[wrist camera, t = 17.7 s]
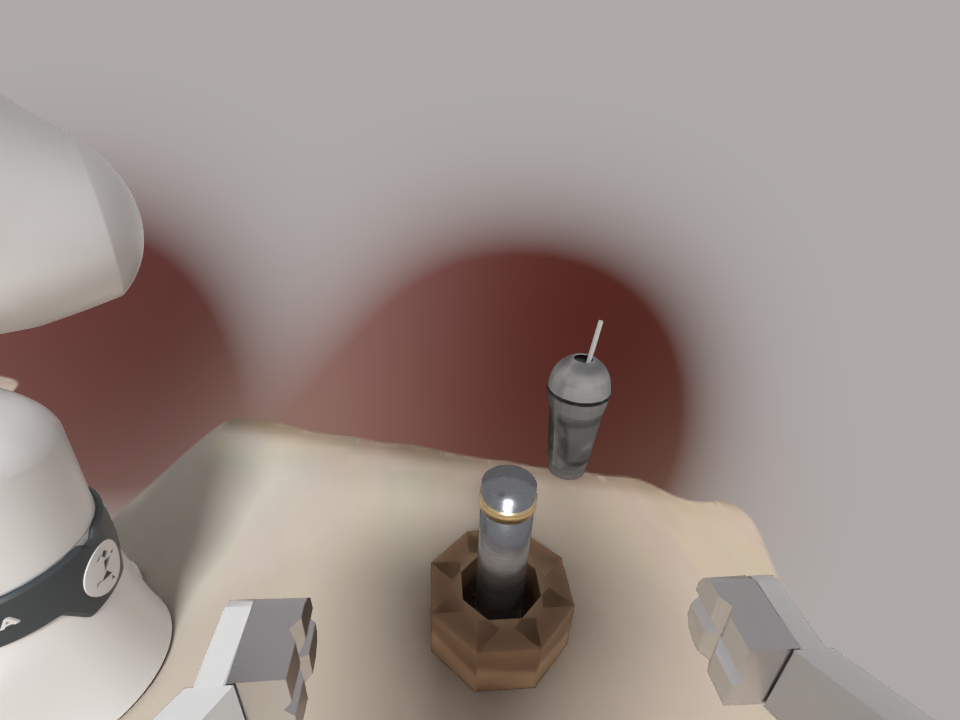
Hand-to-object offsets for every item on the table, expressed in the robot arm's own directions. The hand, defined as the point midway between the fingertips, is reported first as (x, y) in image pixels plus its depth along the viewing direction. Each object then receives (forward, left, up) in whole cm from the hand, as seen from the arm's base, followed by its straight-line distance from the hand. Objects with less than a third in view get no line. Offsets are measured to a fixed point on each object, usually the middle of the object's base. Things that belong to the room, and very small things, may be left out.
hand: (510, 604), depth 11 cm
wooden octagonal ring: (+4, +21, -32) cm, 39 cm away
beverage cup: (+15, +41, -32) cm, 54 cm away
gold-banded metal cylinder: (+4, +21, -32) cm, 39 cm away
